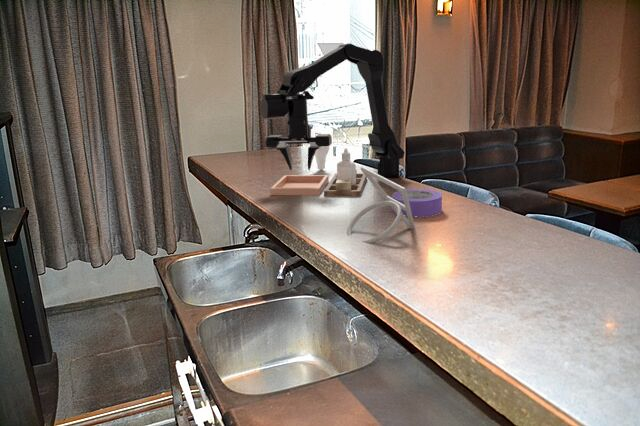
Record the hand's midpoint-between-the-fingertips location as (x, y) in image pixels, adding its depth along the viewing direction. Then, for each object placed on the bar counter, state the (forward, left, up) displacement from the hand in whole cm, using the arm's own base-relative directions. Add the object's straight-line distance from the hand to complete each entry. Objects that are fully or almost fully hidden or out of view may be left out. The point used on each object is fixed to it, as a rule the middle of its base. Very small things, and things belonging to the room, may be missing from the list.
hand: (300, 169), depth 155 cm
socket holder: (-13, -2, -6) cm, 15 cm away
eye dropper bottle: (-13, -1, -6) cm, 15 cm away
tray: (0, 0, -6) cm, 6 cm away
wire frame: (-28, +42, -9) cm, 52 cm away
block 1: (-13, +6, -6) cm, 16 cm away
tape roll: (-33, +25, -6) cm, 42 cm away
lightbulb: (-1, -29, -6) cm, 30 cm away
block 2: (-13, -10, -6) cm, 18 cm away
